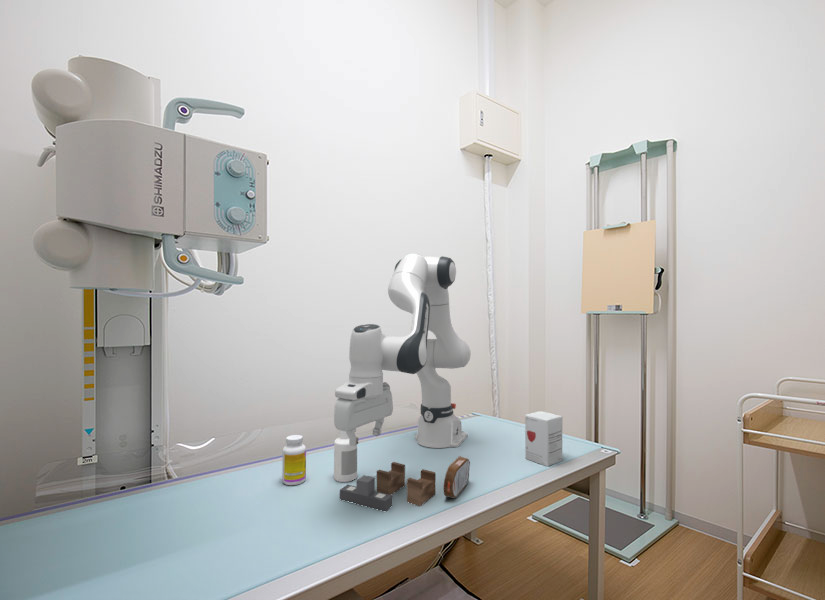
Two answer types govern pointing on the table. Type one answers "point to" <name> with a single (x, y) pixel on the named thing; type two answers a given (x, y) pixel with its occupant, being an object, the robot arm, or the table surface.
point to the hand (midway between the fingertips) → (365, 439)
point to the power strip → (366, 500)
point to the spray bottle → (344, 459)
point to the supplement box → (543, 438)
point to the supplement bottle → (294, 461)
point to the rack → (416, 489)
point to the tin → (456, 477)
